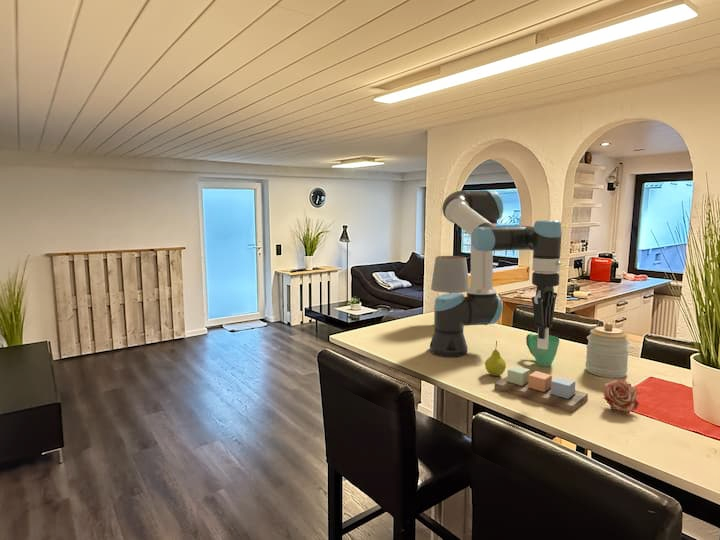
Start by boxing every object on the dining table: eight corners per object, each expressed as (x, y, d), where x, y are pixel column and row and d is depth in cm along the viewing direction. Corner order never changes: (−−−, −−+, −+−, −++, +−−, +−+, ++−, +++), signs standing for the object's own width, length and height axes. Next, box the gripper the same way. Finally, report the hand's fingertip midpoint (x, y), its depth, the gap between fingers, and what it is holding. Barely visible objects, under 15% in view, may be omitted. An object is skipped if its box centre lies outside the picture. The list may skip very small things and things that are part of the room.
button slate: (550, 394, 133) (551, 381, 132) (557, 389, 136) (558, 376, 136) (568, 398, 129) (568, 385, 129) (574, 393, 133) (575, 381, 132)
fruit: (502, 380, 150) (503, 346, 148) (482, 376, 153) (483, 342, 152) (507, 374, 155) (508, 340, 154) (487, 370, 159) (488, 338, 157)
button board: (494, 389, 142) (494, 383, 142) (512, 379, 151) (512, 373, 150) (571, 412, 125) (572, 405, 125) (587, 399, 133) (587, 393, 133)
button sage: (507, 381, 143) (507, 369, 142) (514, 377, 146) (515, 365, 146) (522, 385, 139) (522, 373, 139) (529, 381, 143) (529, 369, 142)
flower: (591, 395, 133) (598, 380, 127) (620, 388, 133) (628, 373, 128) (611, 424, 126) (618, 410, 120) (641, 417, 126) (650, 402, 121)
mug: (564, 367, 162) (565, 340, 160) (541, 370, 159) (542, 342, 158) (537, 354, 176) (538, 330, 174) (516, 357, 173) (517, 332, 171)
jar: (622, 367, 160) (625, 320, 158) (631, 380, 148) (635, 329, 146) (582, 364, 164) (585, 317, 162) (588, 376, 152) (591, 326, 150)
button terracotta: (528, 387, 138) (528, 375, 137) (535, 383, 141) (536, 371, 141) (544, 392, 134) (544, 379, 134) (551, 387, 138) (551, 375, 137)
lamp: (430, 328, 217) (431, 259, 212) (430, 319, 235) (431, 255, 231) (470, 329, 214) (471, 259, 209) (467, 320, 232) (468, 255, 228)
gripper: (549, 275, 126) (545, 355, 129) (567, 270, 135) (563, 346, 138) (523, 273, 131) (521, 350, 134) (542, 269, 140) (539, 341, 143)
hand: (542, 348), depth 136 cm, fingers closed
